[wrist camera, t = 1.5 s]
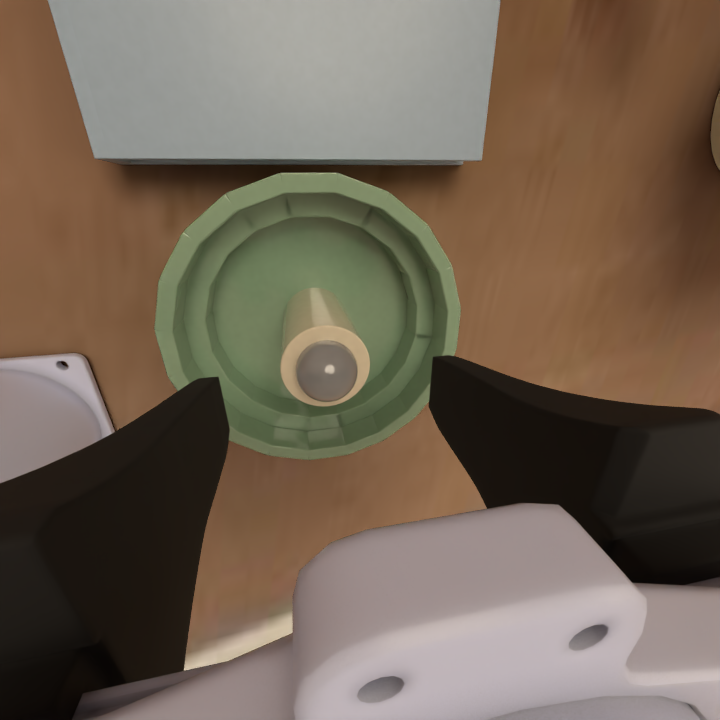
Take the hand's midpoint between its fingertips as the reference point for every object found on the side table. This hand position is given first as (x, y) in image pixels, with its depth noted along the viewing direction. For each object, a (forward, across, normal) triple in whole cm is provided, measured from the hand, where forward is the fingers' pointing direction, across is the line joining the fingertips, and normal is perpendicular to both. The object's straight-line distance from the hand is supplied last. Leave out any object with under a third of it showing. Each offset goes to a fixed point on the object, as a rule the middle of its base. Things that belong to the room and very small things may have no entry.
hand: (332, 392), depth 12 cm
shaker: (+8, 0, 0) cm, 8 cm away
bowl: (+9, 0, 0) cm, 9 cm away
